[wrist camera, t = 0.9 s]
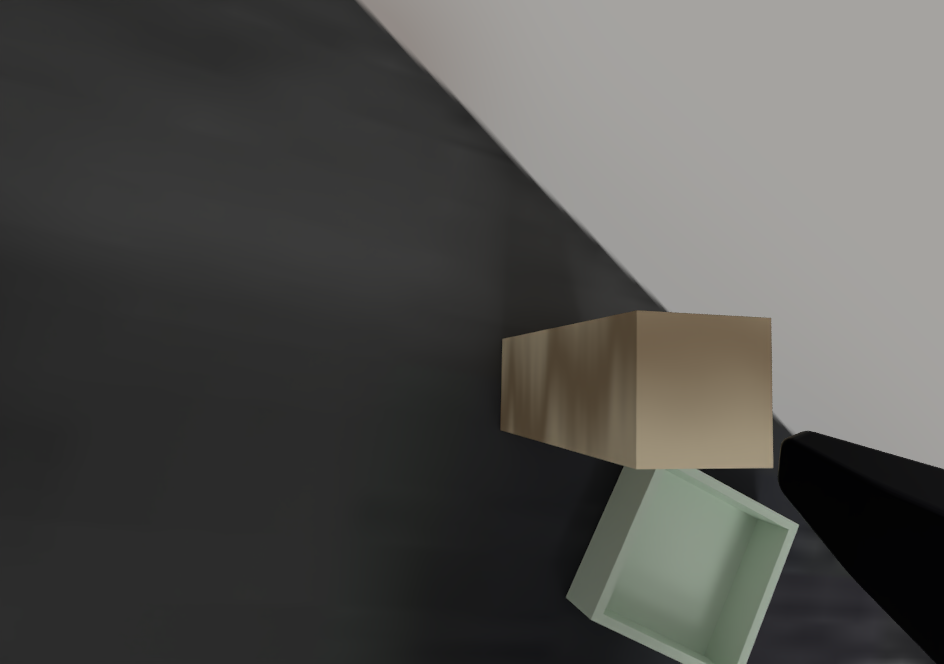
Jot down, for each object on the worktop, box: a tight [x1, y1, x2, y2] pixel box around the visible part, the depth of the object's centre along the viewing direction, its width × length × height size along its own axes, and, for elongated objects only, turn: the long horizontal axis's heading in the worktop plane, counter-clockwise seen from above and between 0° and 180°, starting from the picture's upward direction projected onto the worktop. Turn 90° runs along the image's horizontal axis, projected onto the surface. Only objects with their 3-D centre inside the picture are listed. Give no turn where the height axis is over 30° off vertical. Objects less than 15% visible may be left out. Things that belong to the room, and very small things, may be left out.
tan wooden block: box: [500, 311, 773, 469], centre depth 22 cm, size 4×4×12 cm
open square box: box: [566, 466, 799, 664], centre depth 27 cm, size 7×7×3 cm
